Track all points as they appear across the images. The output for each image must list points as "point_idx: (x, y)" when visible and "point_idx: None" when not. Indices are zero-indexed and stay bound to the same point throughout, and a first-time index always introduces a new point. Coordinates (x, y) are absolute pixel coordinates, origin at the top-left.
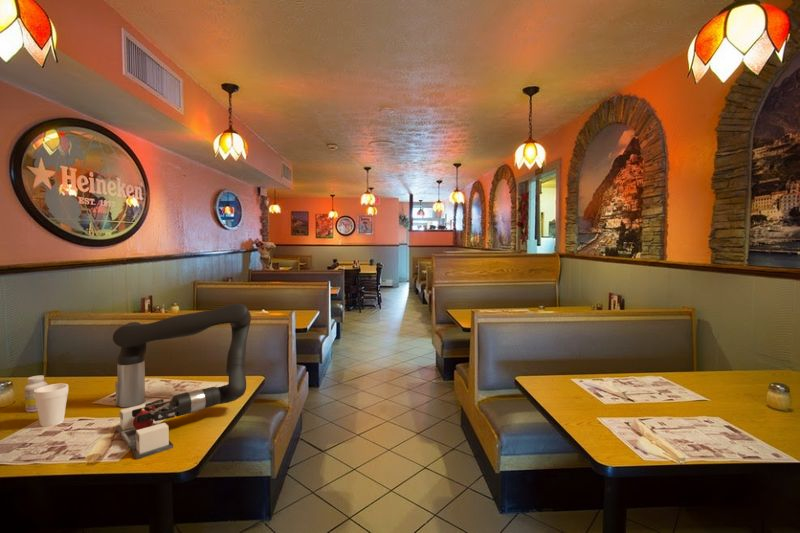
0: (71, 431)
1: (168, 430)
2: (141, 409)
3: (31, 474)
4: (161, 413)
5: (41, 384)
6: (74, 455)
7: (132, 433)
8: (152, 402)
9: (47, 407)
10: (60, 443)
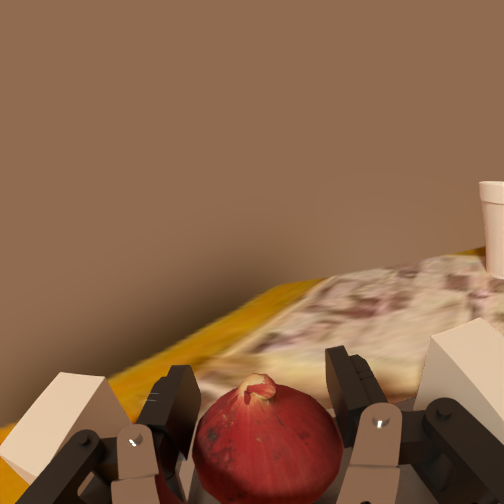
0: (461, 303)
1: (12, 467)
2: (253, 373)
3: (250, 302)
4: (52, 464)
5: None
6: (290, 336)
7: (345, 450)
8: (485, 442)
9: (486, 224)
10: (393, 305)
